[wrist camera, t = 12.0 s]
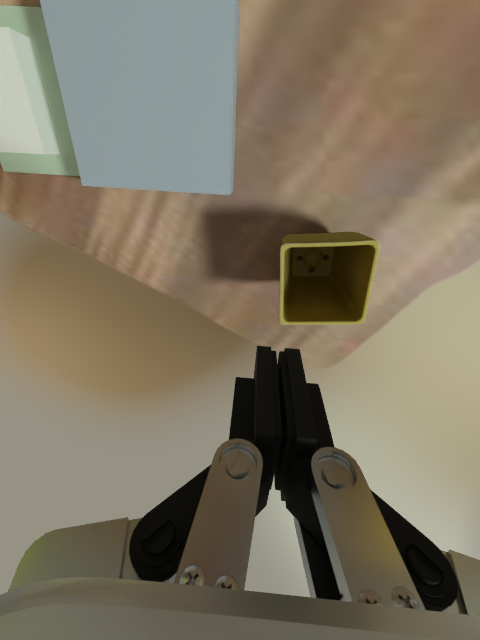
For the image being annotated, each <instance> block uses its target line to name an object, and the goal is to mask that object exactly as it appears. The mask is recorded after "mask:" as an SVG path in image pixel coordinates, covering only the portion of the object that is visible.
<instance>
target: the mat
mask: <svg viewBox="0 0 480 640" xmlns="http://www.w3.org/2000/svg"><path fill="white" fill-rule="evenodd" d="M0 27H9V28H11V29H13V30H15V31H17V32H19V33H21V34H23V35H25V36H27V37H29V38H30V40H31V43H32V47H33V51H34V55H35V59H36V63H37V67H38V70H39V74H40V78H41V82H42V86H43V90H44V94H45V97H46V101H47V105H48V109H49V113H50V117H51V121H52V124H53V128H54V132H55V136H56V140H57V144H58V148H59V151H60V154H30V153H11V152H0V163H1V166H2V169H3V171H6V172H22V173H38V174H54V175H69V176H80V174H79V169H78V165H77V161H76V156H75V152H74V147H73V143H72V139H71V134H70V130H69V126H68V121H67V117H66V112H65V108H64V104H63V99H62V95H61V91H60V86H59V82H58V77H57V73H56V69H55V64H54V60H53V56H52V51H51V47H50V42H49V38H48V34H47V29H46V25H45V21H44V16H43V12H42V7H26V6H4V5H0Z"/></svg>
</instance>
